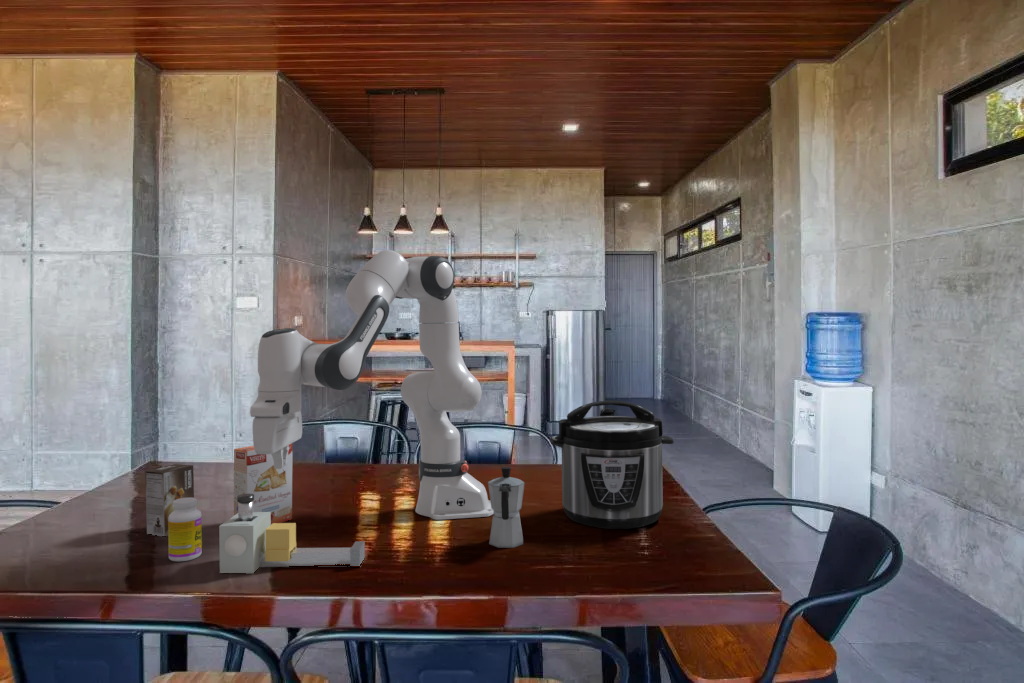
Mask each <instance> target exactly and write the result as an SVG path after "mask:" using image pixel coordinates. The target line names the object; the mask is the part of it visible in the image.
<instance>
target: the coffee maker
mask: <svg viewBox="0 0 1024 683" xmlns="http://www.w3.org/2000/svg"><path fill="white" fill-rule="evenodd" d="M500 469H501V475H502V476H500V477H496V478H493V479H491V480H489V481H487V485H488V492H489V493H488V494H489V499H490V501H491V508H492V509H493V514H492V521H491V528H490V535H489V542H488V545H491V546H493V547H496V548H498V549H500V548H501V549H502V548H503V549H504V548H506V549H514V548H516V547H519V546H522V545H524V536H523V529H522V524H521V517H520V516H521V515H520V510H521V509H522V507H523V506H522V505H523V497H524V490H525V482H524V481H523V480H521V479H519V478H517V477H511V476H510V475H511V469H512V467H510V466H502V467H501V468H500Z"/></svg>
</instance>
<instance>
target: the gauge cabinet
mask: <svg viewBox="0 0 1024 683" xmlns="http://www.w3.org/2000/svg"><path fill="white" fill-rule="evenodd" d="M270 525H271V512H253V520H252V521H238V513H237V514H236V515H234V514H233V516H232V517H230V518H228V519H227V520H226V521H225V522H223V523H221V524H220V525H219V532H218V533H219V534H218V535H219V574H220V573H246V574H255V573H256V572H257V571H258V570H259V569H260V568H261V567H260V553H261V552H262V551H263V550H264V549H265V548H266V529H267V528H268V527H269V526H270ZM259 567H260V568H259ZM258 568H259V569H258ZM257 569H258V570H257ZM256 570H257V571H256ZM255 571H256V572H255ZM254 572H255V573H254Z"/></svg>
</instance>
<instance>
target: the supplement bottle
mask: <svg viewBox="0 0 1024 683" xmlns="http://www.w3.org/2000/svg"><path fill="white" fill-rule="evenodd" d="M197 502H198V500H197V498H196V497H194V498H180V499H176V500H174V501H173V507H174V511H173V512H172V513H171V514H170V515H169V517H168V536H167V537H168V539H167V540H168V559H169V560H170V561H172V562H187V561H192V560H195V559H196V558H199V557H201V555H202V553H203V551H202V550H203V549H202V548H203V547H202V546H203V540H202V539H203V538H202V537H203V533H202V530H203V529H202V528H203V527H202V524H203V522H202V521H203V520H202V517H203V516H202V512H201V510H200V509H198V508H197V504H198V503H197Z"/></svg>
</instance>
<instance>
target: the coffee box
mask: <svg viewBox="0 0 1024 683" xmlns="http://www.w3.org/2000/svg"><path fill="white" fill-rule="evenodd" d="M194 478H195V477H194V464H193V465H192V464H179V463H174V464H170V465H166V466H161V467H158V468H153V469H149V470H146V471H145V500H146V501H145V504H146V505H145V506H146V508H145V509H146V534H147V535H148V534H152V535H151V536H155V535H157V536H158V537H162V536H166V537H168V517H169V515H170V514H171V513H172V512H173V511H174V507H173V501H174V500H176V499H180V498H195V489H194V488H195V486H194V485H195V483H194V481H195V480H194ZM157 536H156V537H157Z"/></svg>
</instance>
